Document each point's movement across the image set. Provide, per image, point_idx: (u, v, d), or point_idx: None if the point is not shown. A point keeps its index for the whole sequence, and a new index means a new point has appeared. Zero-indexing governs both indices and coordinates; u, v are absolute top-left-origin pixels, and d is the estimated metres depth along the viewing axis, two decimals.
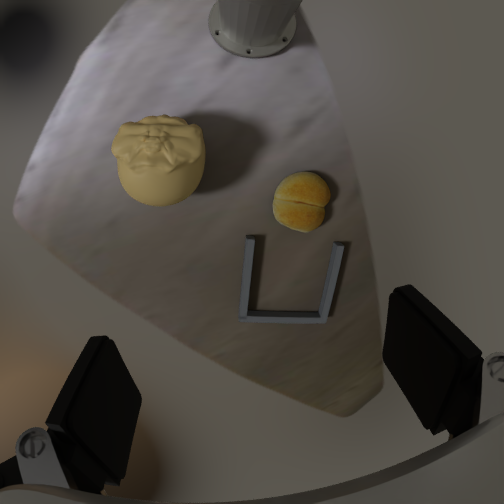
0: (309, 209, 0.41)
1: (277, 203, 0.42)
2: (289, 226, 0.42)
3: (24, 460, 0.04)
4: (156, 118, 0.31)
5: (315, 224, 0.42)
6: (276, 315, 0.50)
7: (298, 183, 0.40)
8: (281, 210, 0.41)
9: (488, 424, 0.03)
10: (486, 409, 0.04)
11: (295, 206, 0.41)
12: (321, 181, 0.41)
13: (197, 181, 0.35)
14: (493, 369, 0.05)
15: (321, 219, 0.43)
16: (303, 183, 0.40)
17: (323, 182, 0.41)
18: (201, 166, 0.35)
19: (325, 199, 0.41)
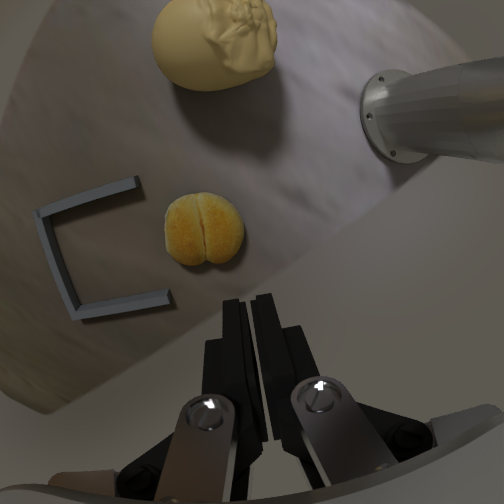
0: (198, 242, 0.31)
1: (190, 200, 0.31)
2: (167, 225, 0.30)
3: (204, 434, 0.05)
4: (272, 17, 0.20)
5: (182, 257, 0.31)
6: (55, 254, 0.31)
7: (226, 216, 0.31)
8: (184, 207, 0.30)
9: (488, 424, 0.03)
10: (324, 451, 0.04)
11: (195, 223, 0.30)
12: (238, 244, 0.32)
13: (196, 83, 0.23)
14: (308, 401, 0.06)
15: (190, 263, 0.32)
16: (228, 222, 0.31)
17: (237, 247, 0.33)
18: (218, 82, 0.23)
19: (218, 258, 0.32)
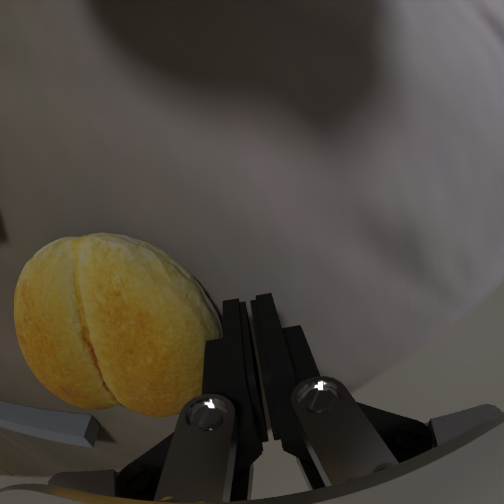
0: (86, 387, 0.09)
1: (56, 261, 0.08)
2: None
3: (204, 434, 0.05)
4: None
5: (64, 400, 0.09)
6: None
7: (157, 328, 0.08)
8: (37, 287, 0.08)
9: (488, 424, 0.03)
10: (324, 451, 0.04)
11: (69, 337, 0.08)
12: None
13: None
14: (308, 401, 0.06)
15: None
16: (164, 349, 0.08)
17: None
18: None
19: None
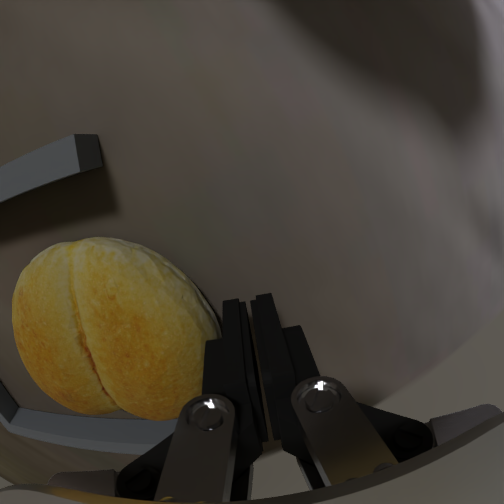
0: (85, 392, 0.08)
1: (52, 266, 0.08)
2: (14, 331, 0.08)
3: (204, 434, 0.05)
4: None
5: None
6: None
7: (153, 331, 0.08)
8: (34, 293, 0.08)
9: (488, 424, 0.03)
10: (324, 451, 0.04)
11: (66, 343, 0.08)
12: None
13: None
14: (308, 401, 0.06)
15: None
16: (161, 352, 0.08)
17: None
18: None
19: None
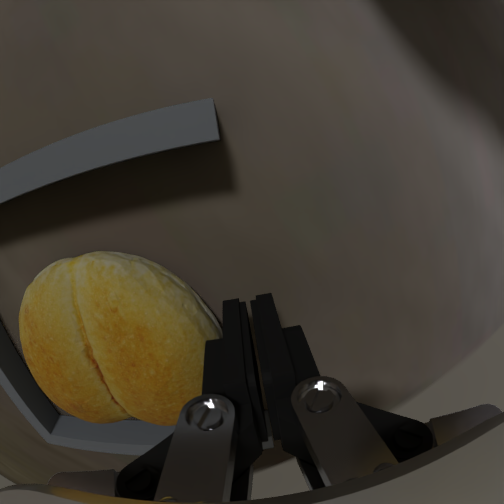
0: (96, 402, 0.09)
1: (55, 283, 0.09)
2: None
3: (204, 434, 0.05)
4: None
5: None
6: None
7: (156, 340, 0.08)
8: (39, 310, 0.08)
9: (488, 424, 0.03)
10: (324, 451, 0.04)
11: (73, 356, 0.08)
12: None
13: None
14: (308, 401, 0.06)
15: None
16: (165, 360, 0.08)
17: None
18: None
19: (162, 425, 0.10)
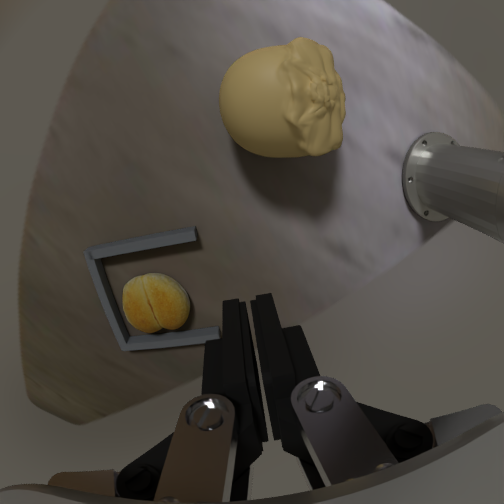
0: (149, 318, 0.34)
1: (137, 283, 0.34)
2: (123, 305, 0.34)
3: (204, 434, 0.05)
4: (342, 90, 0.23)
5: (141, 329, 0.35)
6: (107, 293, 0.35)
7: (167, 295, 0.34)
8: (133, 291, 0.34)
9: (488, 424, 0.03)
10: (324, 451, 0.04)
11: (144, 303, 0.34)
12: (184, 315, 0.36)
13: (267, 154, 0.26)
14: (308, 401, 0.06)
15: (149, 332, 0.36)
16: (170, 300, 0.34)
17: (185, 317, 0.36)
18: (288, 155, 0.26)
19: (170, 327, 0.36)
